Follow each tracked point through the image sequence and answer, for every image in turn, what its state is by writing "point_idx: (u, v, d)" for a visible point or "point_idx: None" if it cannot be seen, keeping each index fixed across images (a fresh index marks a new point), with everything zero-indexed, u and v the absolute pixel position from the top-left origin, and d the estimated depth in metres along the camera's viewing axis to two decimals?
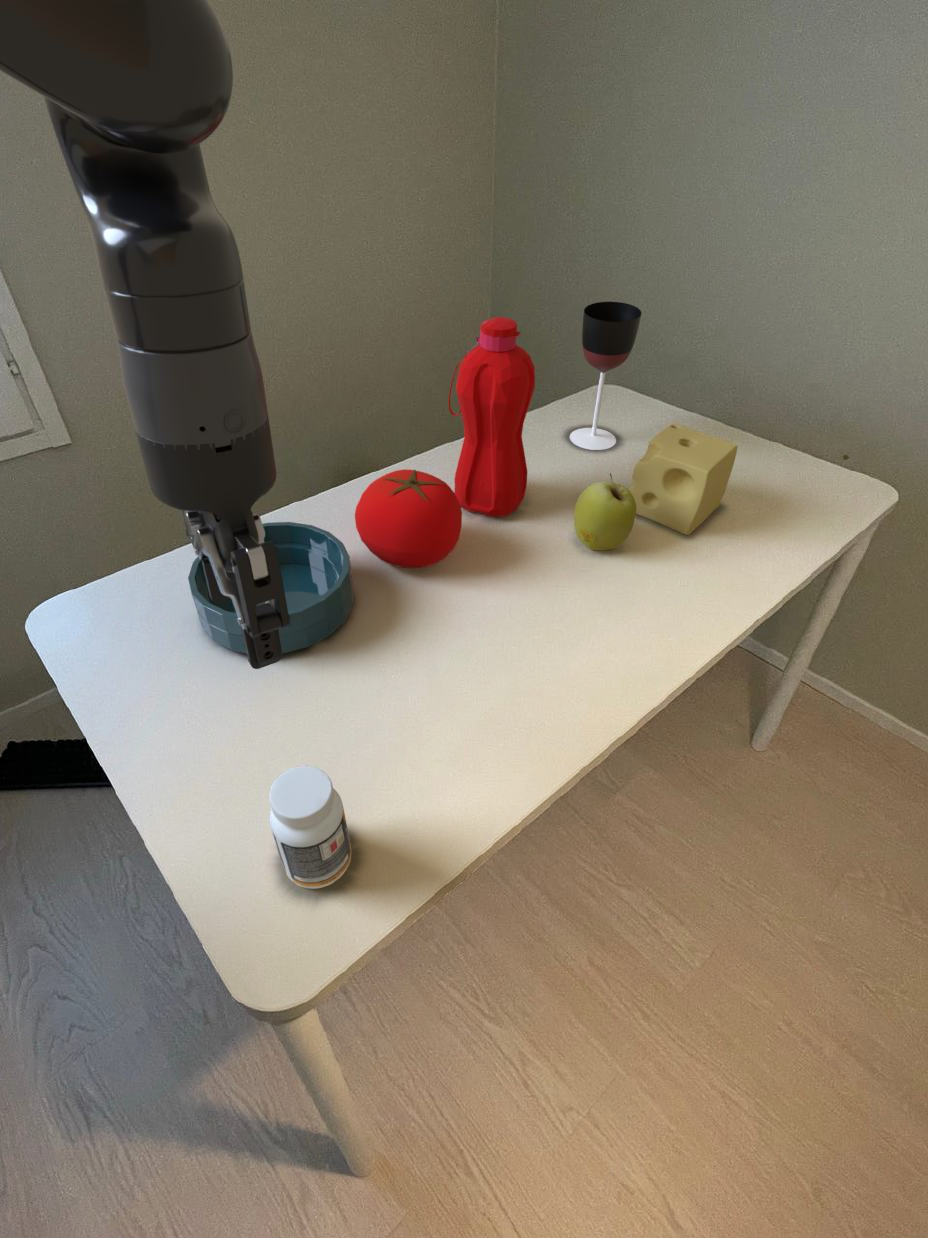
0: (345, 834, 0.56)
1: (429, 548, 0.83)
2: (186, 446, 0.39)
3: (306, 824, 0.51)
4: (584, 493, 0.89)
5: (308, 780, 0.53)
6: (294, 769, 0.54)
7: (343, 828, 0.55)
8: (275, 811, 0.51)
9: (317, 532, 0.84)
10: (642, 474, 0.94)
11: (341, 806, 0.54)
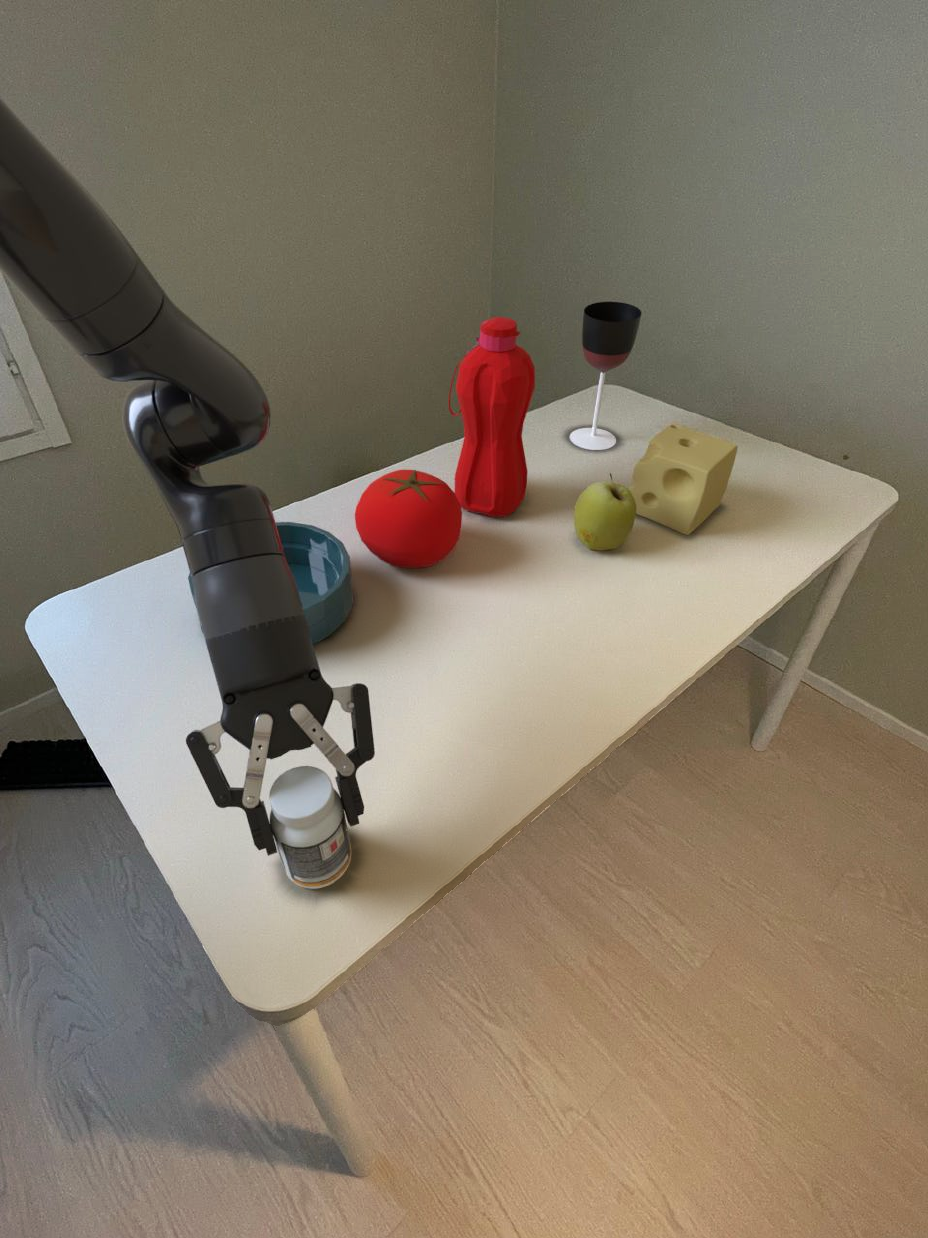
0: (345, 834, 0.56)
1: (429, 548, 0.83)
2: (300, 616, 0.53)
3: (306, 824, 0.51)
4: (584, 493, 0.89)
5: (309, 780, 0.53)
6: (294, 769, 0.54)
7: (343, 828, 0.55)
8: (275, 811, 0.51)
9: (317, 532, 0.84)
10: (642, 474, 0.94)
11: (341, 806, 0.54)
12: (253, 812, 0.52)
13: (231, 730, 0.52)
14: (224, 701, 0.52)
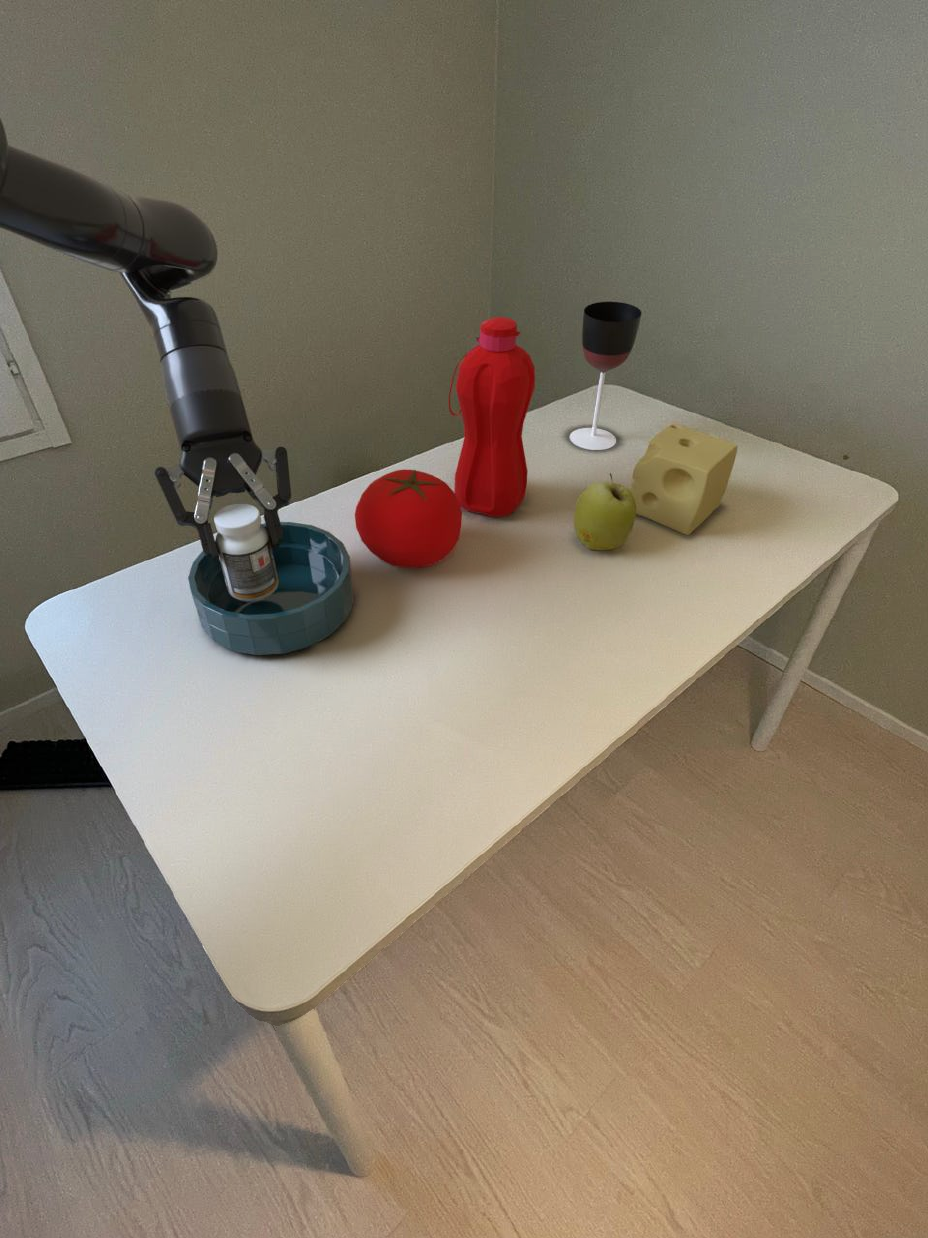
0: (271, 558, 0.77)
1: (429, 548, 0.83)
2: (237, 393, 0.75)
3: (239, 534, 0.73)
4: (584, 493, 0.89)
5: (243, 510, 0.75)
6: (233, 504, 0.75)
7: (269, 551, 0.77)
8: (217, 524, 0.73)
9: (317, 532, 0.84)
10: (643, 474, 0.94)
11: (267, 534, 0.76)
12: (202, 528, 0.73)
13: (187, 469, 0.73)
14: (182, 449, 0.73)
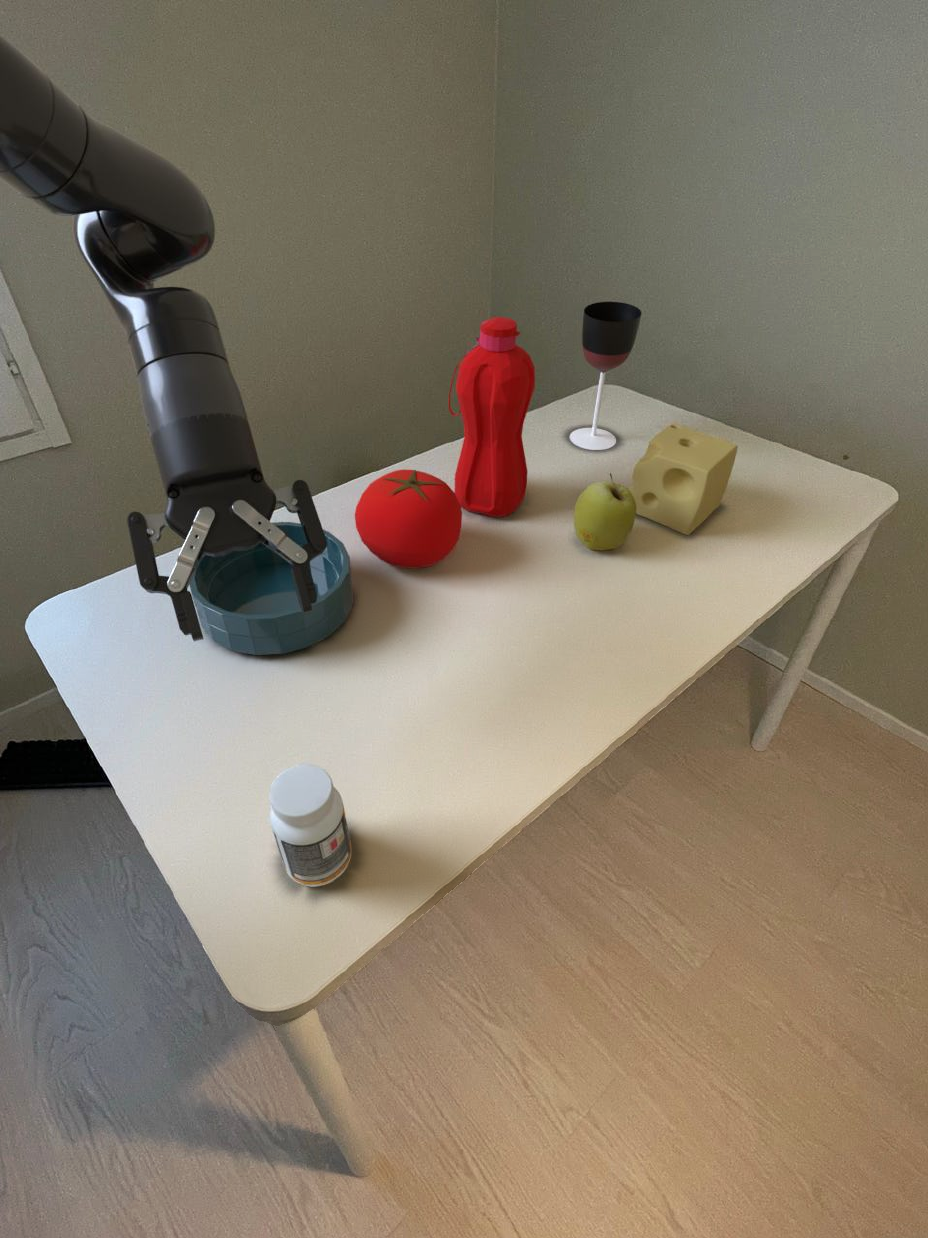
0: (345, 832, 0.56)
1: (429, 548, 0.83)
2: (242, 418, 0.55)
3: (306, 822, 0.51)
4: (584, 493, 0.89)
5: (309, 778, 0.53)
6: (294, 767, 0.54)
7: (343, 826, 0.55)
8: (275, 809, 0.51)
9: None
10: (642, 474, 0.94)
11: (341, 804, 0.55)
12: (178, 598, 0.54)
13: (175, 522, 0.54)
14: (168, 495, 0.54)
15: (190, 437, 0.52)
